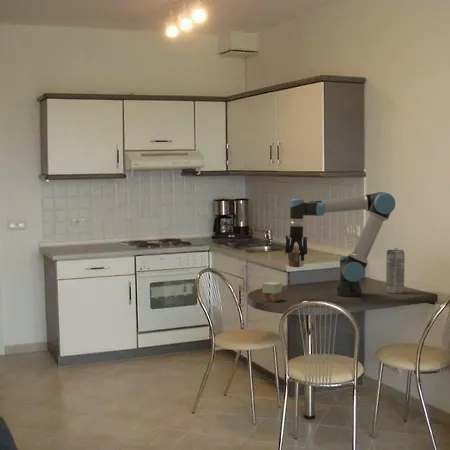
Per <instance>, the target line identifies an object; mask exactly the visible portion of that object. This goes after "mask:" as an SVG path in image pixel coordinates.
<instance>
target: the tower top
mask: <svg viewBox="0 0 450 450" xmlns="http://www.w3.org/2000/svg"><path fill="white" fill-rule="evenodd" d="M261 285H262V287H261V288H262V292H265V293H273V294H275V293H278V292H282V291H283V290H282V289H283V288H282V287H283V283H282V282H277V281H276V282H275V281H267V282H263V283H262V284H261ZM262 292H261V293H262ZM282 293H283V292H282Z"/></svg>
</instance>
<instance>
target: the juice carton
mask: <svg viewBox="0 0 450 450" xmlns="http://www.w3.org/2000/svg"><path fill="white" fill-rule="evenodd" d="M404 251H405V250H403V249H399V248H398V247H393V248H392V249H387V250H386V258H385V259H386V260H385V261H386V267H385V268H386V270H385V286H386V287H385V288H386V291H387V294H395V295H396V294H398V295H399V294H400V295H402V294H403V293H404V289H405V263H406V262H405V258H406V257H405V252H404Z"/></svg>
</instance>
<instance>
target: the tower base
mask: <svg viewBox="0 0 450 450" xmlns="http://www.w3.org/2000/svg"><path fill="white" fill-rule="evenodd" d="M282 293H283V292H278V293H275V294H273V293H265V292H261V301H262V300H263V301H264V302H270V303H275V302H278V301H279V302H280V301H282V300H283V299H282ZM263 301H262V302H263Z"/></svg>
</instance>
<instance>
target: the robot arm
mask: <svg viewBox="0 0 450 450" xmlns="http://www.w3.org/2000/svg"><path fill="white" fill-rule="evenodd" d="M304 200H305V199H302V198H291V200H290V206H289V207H290V208H289V209H290V211H289V212H290V213H289V214H290V216H289V218H290V220H289V225H290V226H289V235H288V234H287V235H285V249H284V250H285V251H284V252H285V253H287V255H288V257H287V259H288V260H289V253H290V252H294V251H293V250H294V246H295V244H296V243H297V245H298V248H299V252H300V255H299V267H298V268H302V267H304V262H305V255H307V254H308V236H305V235H304V234H303V233H304V226H303V225H304V216H311V217H313V216H315V217H317V216H318V217H320V216H321V217H322V216H325V214H328V213H329V214H330V213H339V212H350V211H351V212H352V211H353V212H354V211H363V210H365V211H366V212H368V214H369V216H368V217H367V220H366V221H365V222H366V223H365V225H364V226H363V229H362V230H361V231H362V232H361V234H360V235H359V238H358V240H357V241H356V244H355V247H354V249H353V251H352V253H349V254H348V256H345V255H343V256H340V257H339V283H338V286H337V289H336V295H337V296H340V297H345V298H346V297H348V298H351V297H353V298H354V297H361V296H363V289H362V285H361V282H360V281H361V280H362V279H363V278H364V275H365V270H366V268H367V265H368V260H367V259H368V257H369V255H370V252H371V250H372V248H373V246H374V244H375V241H376V240H377V237H378V236H379V233H380V230H381V228H382V226H383V224H384V221H387V220H388V219H389V218H390V215H391V213H392V212H393V211H394V209H396V200H395V198H394V196H393V195H392V194H390V193H388V192H384V191H378V192H375V193H368V194H365V195H364V196H356V197H345V198H334V199H324V200H311V201H308V202H305V201H304ZM301 266H302V267H301Z"/></svg>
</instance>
